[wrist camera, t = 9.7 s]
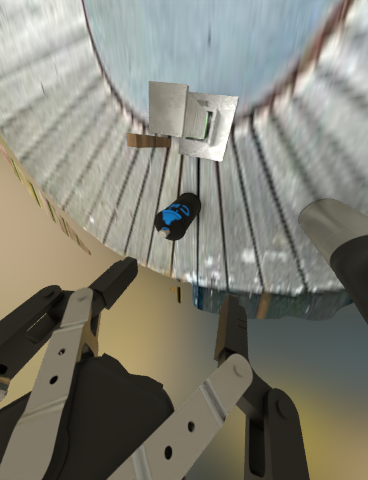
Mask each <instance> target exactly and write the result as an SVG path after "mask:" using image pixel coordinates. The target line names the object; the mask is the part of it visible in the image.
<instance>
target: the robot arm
mask: <svg viewBox="0 0 368 480" xmlns="http://www.w3.org/2000/svg"><path fill="white" fill-rule="evenodd" d="M299 224H300V226H301V227H302V229H303V230H304V232H305V233H306V234H307V236H308V237H309V239H310V240H311V241H312V243H313V244H314V245H315V247H316V248H317V249H318V251H319V252H320V253H321V255H322V256H323V258H324V259H325V260H326V261H327V263H328V264H329V266H330V267H331V268H332V270H333V271H334V272H335V274H336V276H337V278H338V279H339V281H340V282H341V283H342V285H343V286H344V288H345V289H346V291H347V292H348V294H349V295H350V297H351V298H352V300H353V302H354V303H355V305H356V307H357V308H358V310H359V311H360V313H361V315H362V316H363V318H364V319H365V321H366V322H367V324H368V217H367V216H365V215H363V214H361V213H359V212H358V211H356V210H354V209H352V208H351V207H349V206H347V205H345V204H343V203H342V202H340V201H338V200H334V199H322V200H319V201H316V202H313V203H311V204H310V205H308V206H307V207H306V208H304V209H303V211H302V212H301V214H300V216H299ZM137 273H138V266H137V259H134V258H132V257H129V256H128V257H126V258H125V259H124V260H123V261H121V260H120V261H118V262H116V263H114V264H113V265H112V266H111V267H110V268H109V269H108V270H107V271H106V272H104V273H103V274H102V275H101V276H100V277H99V278H98V279H97V280H95V281H94V282H93V283H92V284H91V285H90V286H89V287H87V288H81V289H78V290H77V291H65V290H62V289H61V288H60V286H57V285H51V286H48V287H45V288H43V289H42V290H40V291H39V292H37V293H36V294H35V295H33V296H32V297H31V298H30V299H28V300H27V301H25V302H24V303H23V304H22V305H20V306H19V307H18V308H16V309H15V310H14V311H13V312H11V313H10V314H8V315H7V316H6V317H5V318H3V319H2V320H1V321H0V401H2V400H3V399H4V398H5V396H6V395H7V392H8V390H7V389H8V387H9V384H10V380H11V379H12V378H13V377H14V376H15V375H16V374H17V373H18V372H19V371H20V370H21V369H22V367H23V366H24V365H25V364H26V363H27V362H28V361H29V360H30V359H31V358H32V357H33V356H34V355H35V354H36V353H37V352H38V350H39V349H40V348H41V347H42V346H43V345H44V344H45V343H46V342H47V341H48V340H49V339H50V338H51V339H50V341H49V344H48V347H47V350H46V353H45V356H44V358H43V361H42V364H41V367H40V370H39V372H38V375H37V378H36V381H35V384H34V387H33V389H32V391H30V392H29V393H27V394H25V395H24V396H22V397H21V398H19V399H17V400H15V401H13V402H12V403H10V404H8V405H7V406H5V407H3V408H2V409H0V480H186V477H185V474H186V473H187V472H188V470H189V469H190V468H191V466H192V464H194V462H195V461H196V459H197V458H198V457H199V456H200V454H201V453H202V452H203V450H204V449H205V448H206V446H207V445H208V444H209V442H210V441H211V440H212V439H213V437H214V436H215V435H216V433H217V432H218V431H219V429H220V428H221V426H222V425H223V423H224V421H225V418H226V416H227V414H228V413H229V411H230V410H231V409H232V408H233V406H234V405H235V404H236V405H237V406H238V407H239V408H240V409H241V410H242V411H243V412H244V413H245V414H246V429H245V464H244V480H310V479H309V473H308V467H307V461H306V455H305V449H304V443H303V437H302V432H301V426H300V420H299V415H298V412H297V409H296V407H295V405H294V403H293V402H292V400H291V399H290V397H289V396H288V395H287V394H286V393H285V392H284V391H282V390H280V389H277V388H274V389H272V388H271V387H270V386H269V385H268V384H267V383H265V382H264V381H263V380H262V379H261V378H260V377H259V376H258V375H257V374H256V373H255V372H254V370H253V369H252V367H251V365H250V363H249V359H248V344H247V342H248V341H247V314H246V312H245V309H244V307H243V306H240V305H238V301H239V299H238V297H237V296H234V295H232V294H229V293H228V294H227V296H226V298H225V300H224V302H223V303H222V306H221V310H220V317H219V324H218V332H217V339H216V347H215V354H214V360H216V361H218V367H217V370H216V371H215V372H214V373H213V374H212V375H211V376H210V377H209V378H208V379H207V380H206V381H205V382H204V383H203V384H202V385H201V386H200V387H199V388H198V389H197V390H196V391H195V392H194V393H193V394H192V395H191V396H190V397H189V398H188V399H187V400H186V401H185V402H184V403H183V404H182V405H181V406H180V407H179V408H178V409H177V410H176V411H174V407H173V404H172V402H171V400H170V398H169V396H168V394H167V393H166V391H165V390H164V389H163V384H161V383H159V382H157V381H156V380H154V379H152V378H150V377H148V376H141V375H133V374H129V373H128V372H127V370H126V369H125V368H124V367H123V366H122V365H121V363H120V362H119V361H118V360H116V359H115V358H113V357H111V356H109V355H107V354H105V353H104V354H103V355H102V356H98V333H99V325H100V317H101V311H102V310H103V309H104V308H106V309H108V310H109V309H110V308H111V306H112V305H113V304H114V303H115V302H116V300H117V299H118V298H119V297H120V296H121V294H122V293H123V292H124V291H125V289H126V288H127V287H128V286H129V284H130V283H131V282H132V281H133V280H134V278H135V277H136V275H137ZM45 313H46V315H45ZM43 315H44V316H43ZM42 316H43V317H42ZM41 317H42V318H41ZM40 318H41V319H40ZM39 319H40V320H39ZM38 320H39V321H38ZM37 321H38V322H37ZM36 322H37V323H36ZM35 323H36V324H35ZM34 324H35V325H34ZM32 325H33V326H32ZM31 326H32V327H31ZM30 327H31V328H30ZM29 328H30V329H29ZM28 329H29V330H28ZM27 330H28V331H27Z"/></svg>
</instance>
